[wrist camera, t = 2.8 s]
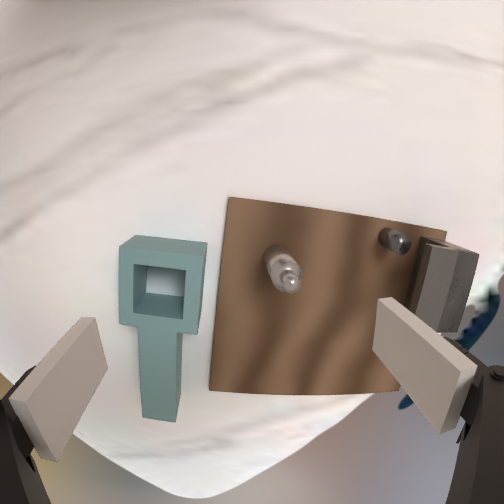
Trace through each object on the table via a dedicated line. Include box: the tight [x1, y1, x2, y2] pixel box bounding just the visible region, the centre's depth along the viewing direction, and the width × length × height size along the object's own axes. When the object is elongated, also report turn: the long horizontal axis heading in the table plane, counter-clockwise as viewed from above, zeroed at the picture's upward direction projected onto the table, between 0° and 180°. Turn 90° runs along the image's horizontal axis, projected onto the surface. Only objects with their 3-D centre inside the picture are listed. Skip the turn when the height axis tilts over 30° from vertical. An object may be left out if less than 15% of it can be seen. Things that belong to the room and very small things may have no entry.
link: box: [119, 235, 207, 422], centre depth 29 cm, size 18×7×5 cm, turn 173°
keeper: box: [378, 227, 479, 333], centre depth 28 cm, size 8×8×7 cm
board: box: [209, 197, 447, 395], centre depth 33 cm, size 24×21×1 cm
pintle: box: [263, 245, 303, 294], centre depth 27 cm, size 2×2×9 cm
